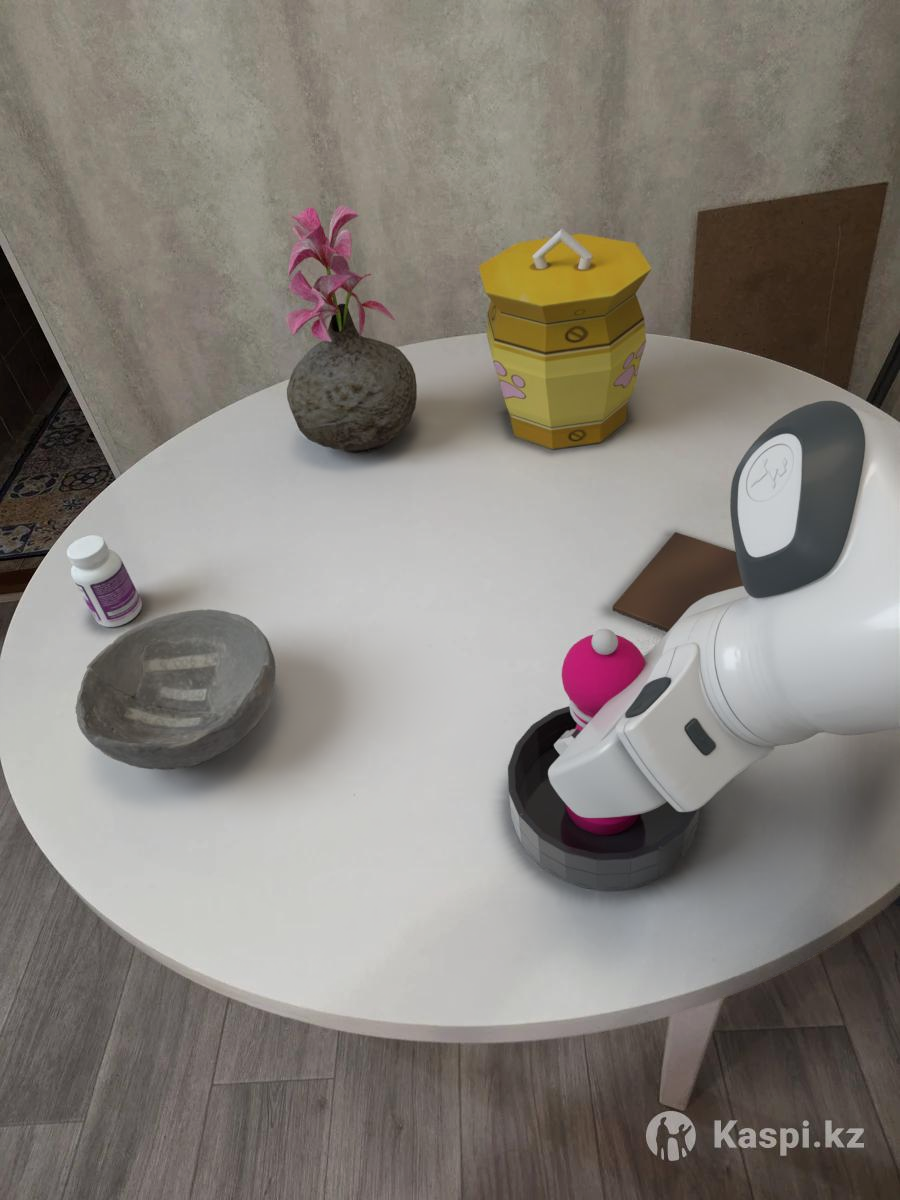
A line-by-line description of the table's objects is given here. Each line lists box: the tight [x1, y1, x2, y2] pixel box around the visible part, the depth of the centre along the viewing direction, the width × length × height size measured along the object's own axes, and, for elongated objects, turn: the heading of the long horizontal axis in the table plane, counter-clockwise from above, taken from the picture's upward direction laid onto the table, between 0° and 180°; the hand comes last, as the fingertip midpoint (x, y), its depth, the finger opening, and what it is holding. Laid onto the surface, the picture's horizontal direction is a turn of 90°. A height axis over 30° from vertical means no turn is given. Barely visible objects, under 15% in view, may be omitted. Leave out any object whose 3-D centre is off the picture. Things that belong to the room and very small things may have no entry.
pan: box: [507, 705, 701, 891], centre depth 70 cm, size 15×15×4 cm
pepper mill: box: [561, 628, 645, 835], centre depth 65 cm, size 7×7×20 cm
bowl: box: [74, 608, 276, 771], centre depth 81 cm, size 18×18×8 cm
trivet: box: [611, 531, 743, 633], centre depth 89 cm, size 14×14×1 cm
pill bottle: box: [66, 534, 143, 628], centre depth 94 cm, size 5×5×10 cm
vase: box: [285, 205, 418, 454], centre depth 109 cm, size 17×17×30 cm
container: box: [478, 227, 653, 451], centre depth 109 cm, size 21×21×25 cm
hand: (597, 709), depth 64 cm, fingers open, 7 cm apart
